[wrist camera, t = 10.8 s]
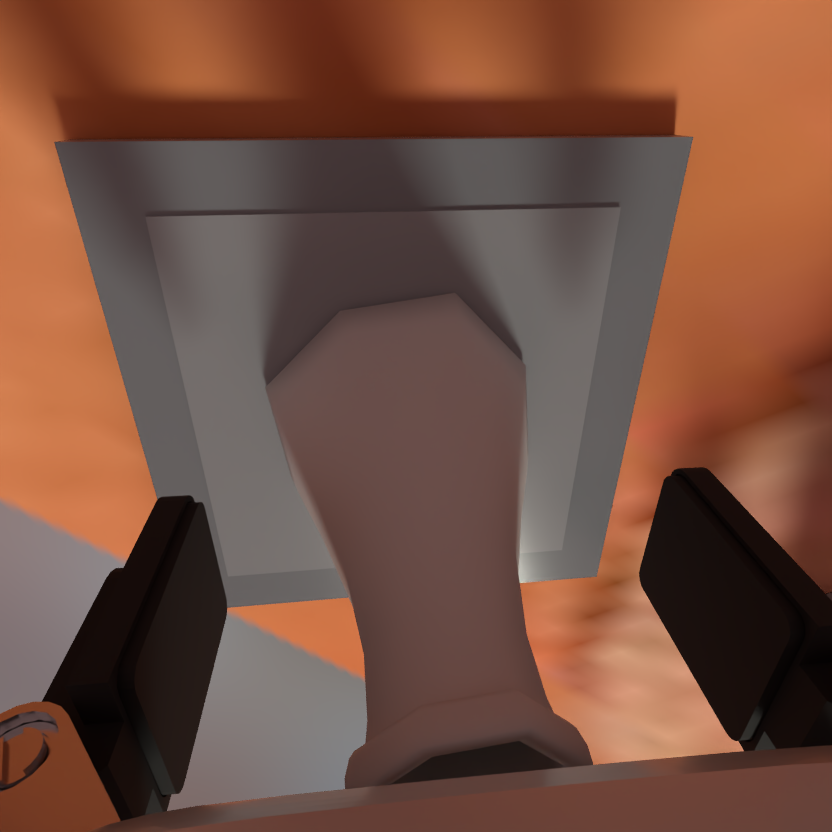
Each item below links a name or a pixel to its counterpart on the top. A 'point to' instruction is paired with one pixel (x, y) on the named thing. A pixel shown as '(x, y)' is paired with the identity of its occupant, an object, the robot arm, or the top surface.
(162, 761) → the robot arm
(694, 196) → the top surface
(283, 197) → the slate coaster
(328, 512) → the flask
